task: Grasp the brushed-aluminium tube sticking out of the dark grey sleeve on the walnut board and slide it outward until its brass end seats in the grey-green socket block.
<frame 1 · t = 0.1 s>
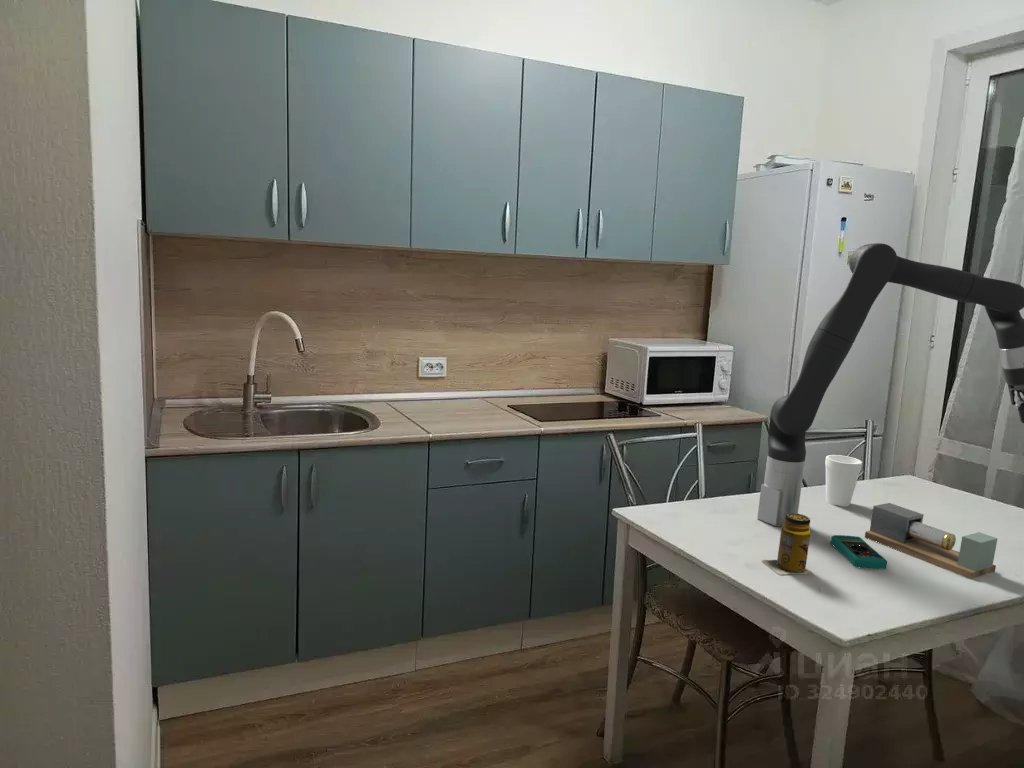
socket: (973, 571, 166), resting on board
board: (926, 553, 176), on the table
digital multimeter: (856, 558, 172), on the table
tube: (911, 528, 179), point 5 cm above the table, slide at 0.0 cm
sleeve: (893, 540, 183), resting on board
foam cup: (837, 503, 211), on the table
condiment: (786, 568, 163), on the table
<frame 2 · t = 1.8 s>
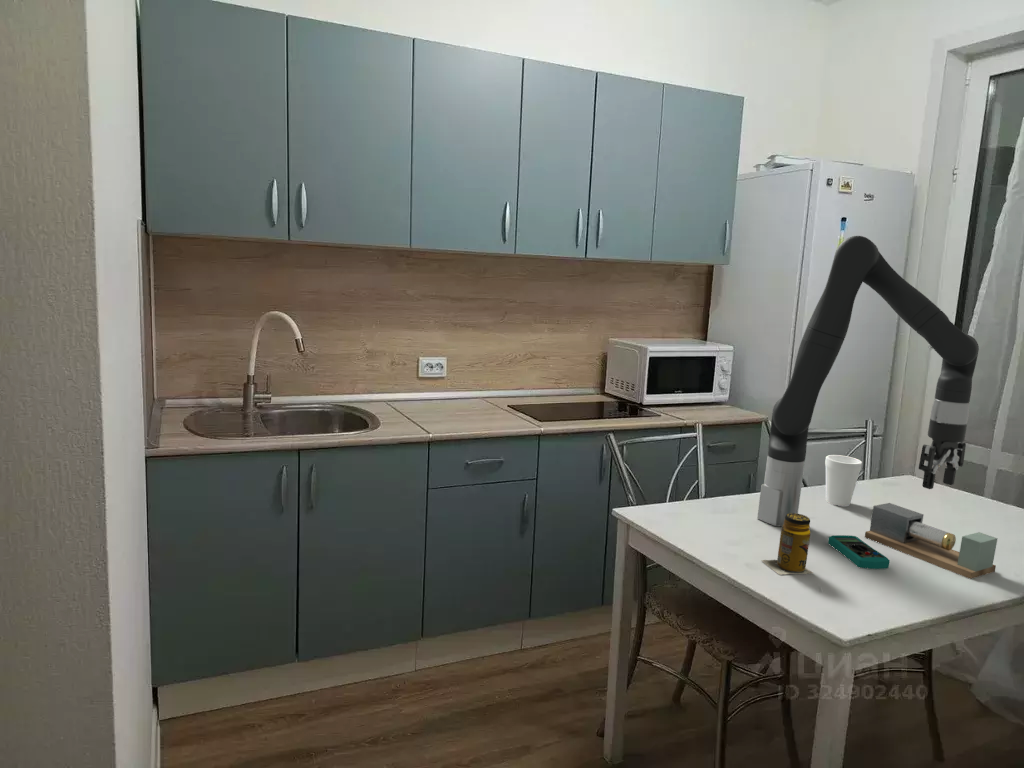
hand: (937, 486, 173), 17 cm above the table, tool pointing down, fingers open, 8 cm apart
nothing on the table moved.
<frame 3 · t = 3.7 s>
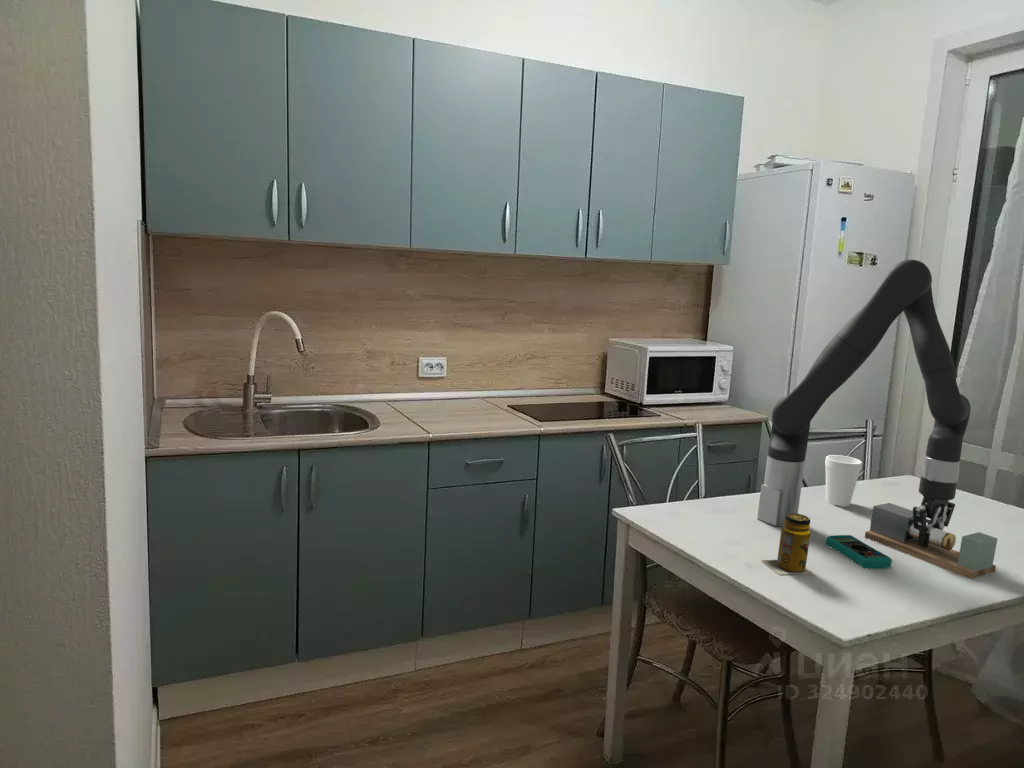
hand: (928, 544, 175), 2 cm above the table, tool pointing down, fingers closed on tube, 4 cm apart
tube: (911, 528, 179), point 5 cm above the table, slide at 0.0 cm, touching gripper
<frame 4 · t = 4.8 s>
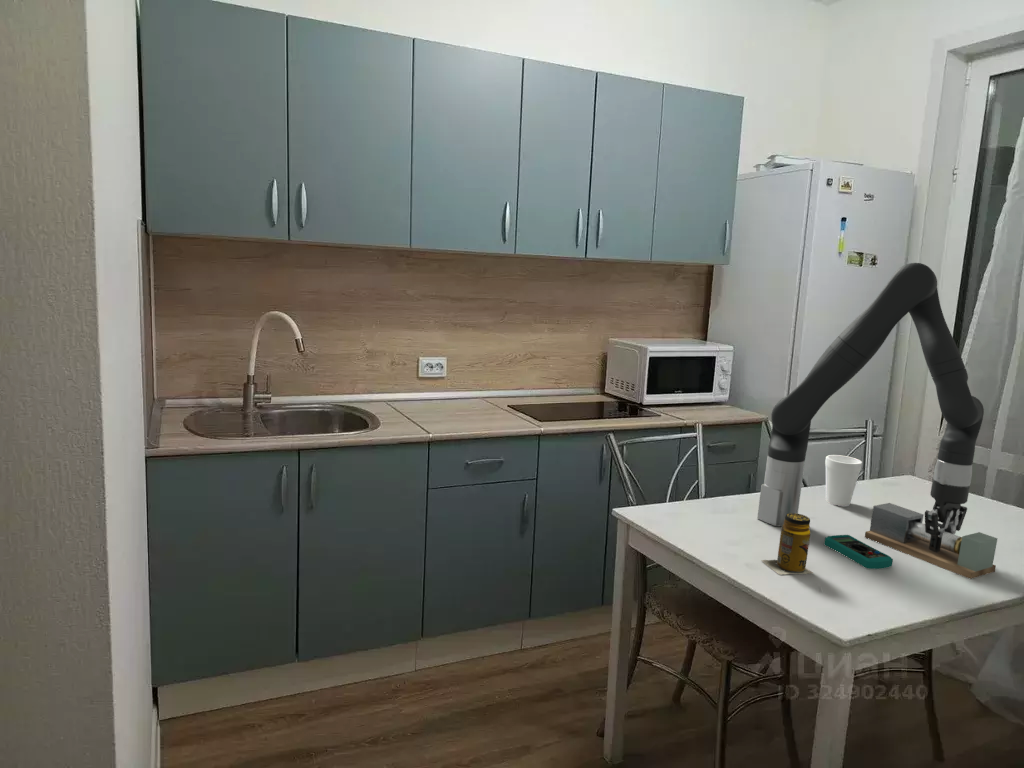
hand: (939, 549, 173), 2 cm above the table, tool pointing down, fingers closed on tube, 4 cm apart
tube: (922, 532, 176), point 5 cm above the table, slide at 2.8 cm, touching gripper
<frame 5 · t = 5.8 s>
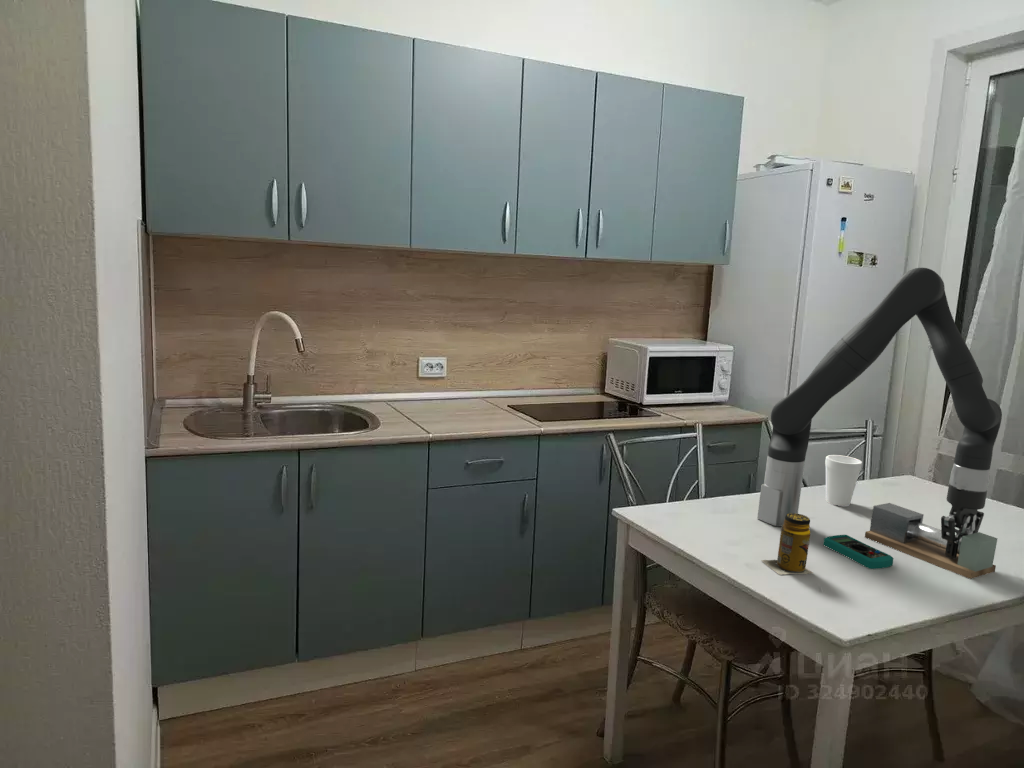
hand: (956, 555, 170), 2 cm above the table, tool pointing down, fingers closed on tube, 4 cm apart
tube: (938, 538, 173), point 5 cm above the table, slide at 6.7 cm, touching gripper
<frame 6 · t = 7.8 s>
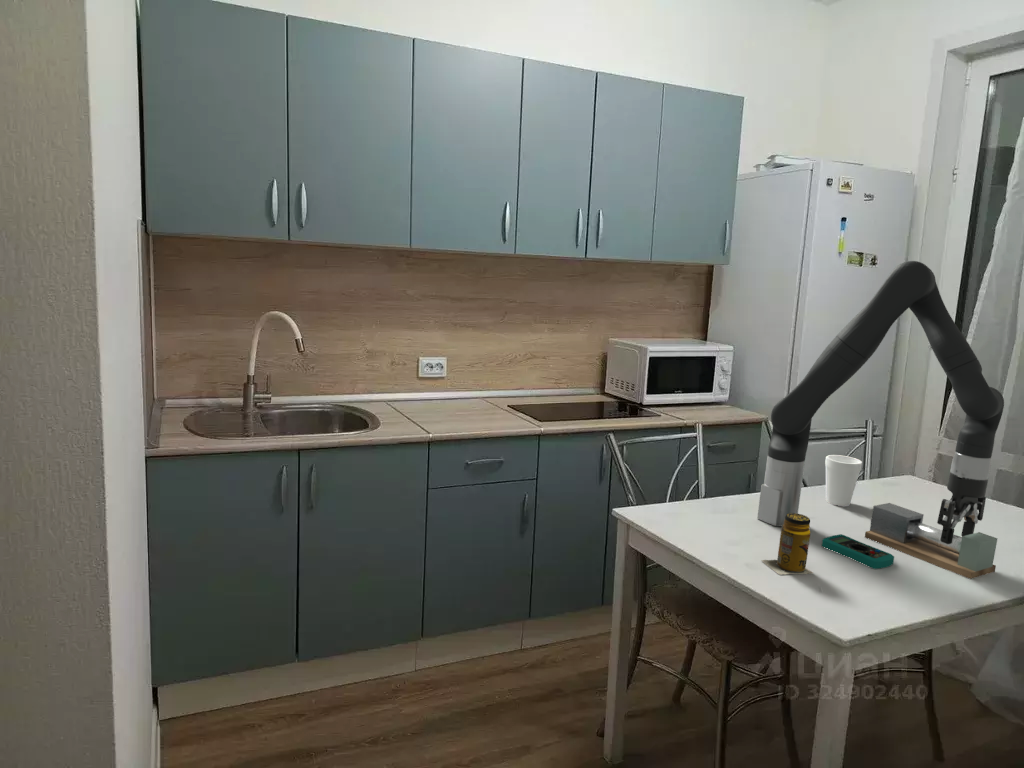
hand: (956, 540, 169), 6 cm above the table, tool pointing down, fingers open, 8 cm apart
tube: (938, 538, 173), point 5 cm above the table, slide at 6.7 cm
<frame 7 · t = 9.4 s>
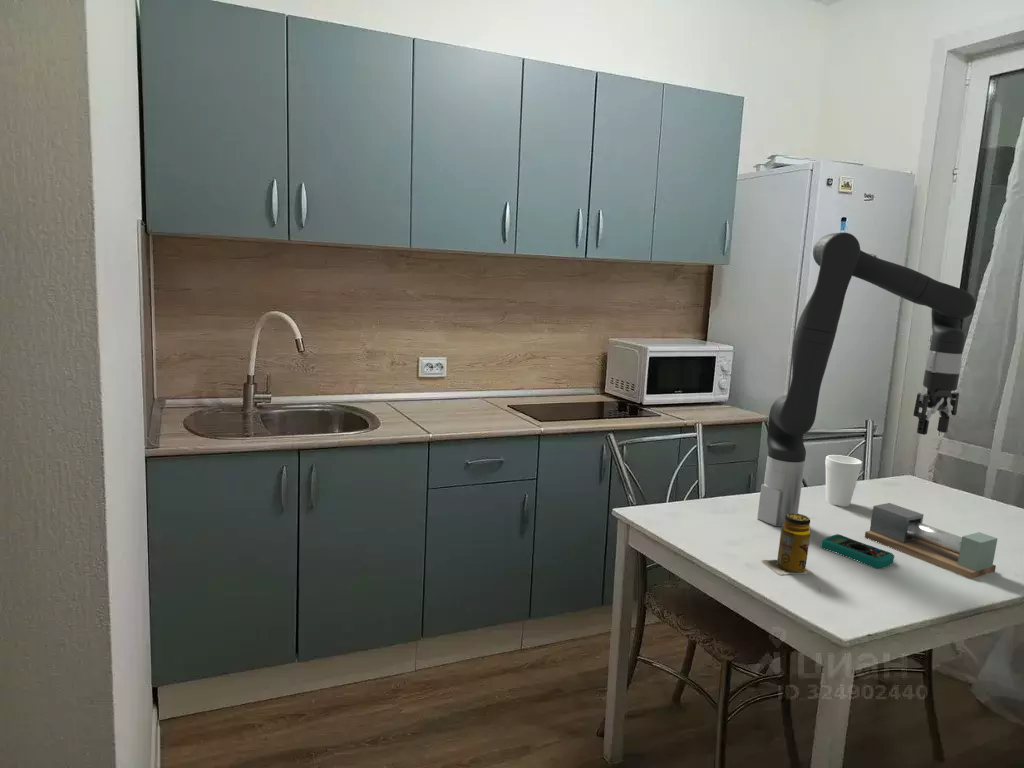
hand: (931, 432, 185), 27 cm above the table, tool pointing down, fingers open, 8 cm apart
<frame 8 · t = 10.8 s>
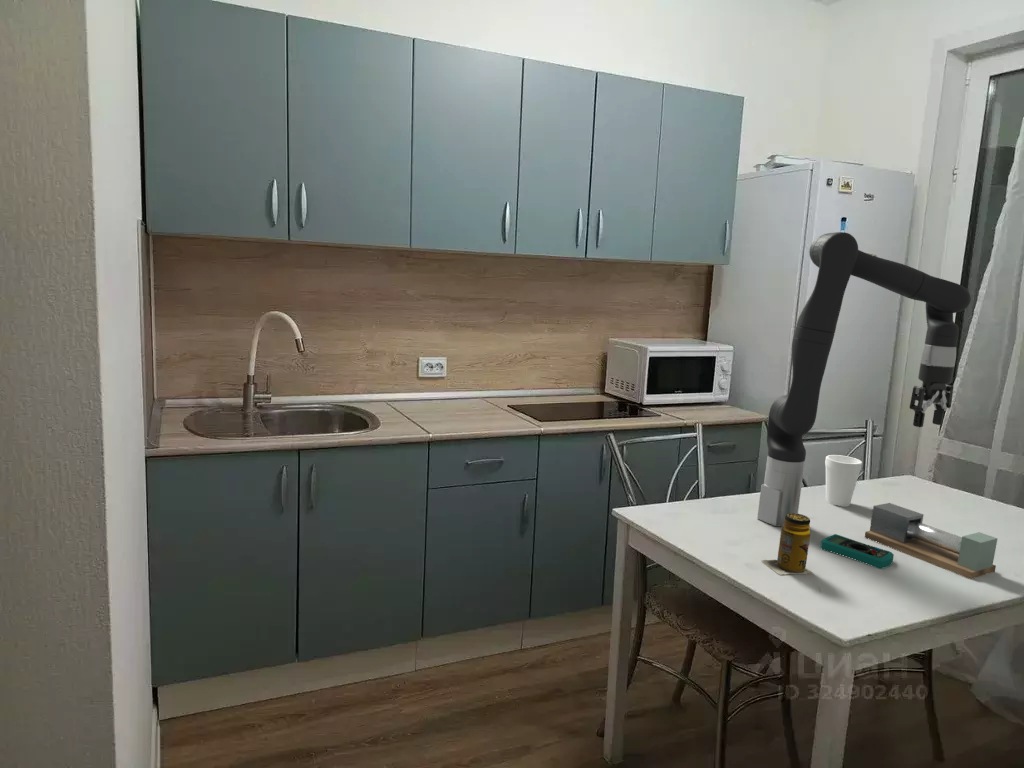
hand: (927, 425, 188), 28 cm above the table, tool pointing down, fingers open, 8 cm apart
at the end: tube slide at 6.7 cm; the gripper is holding nothing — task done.
